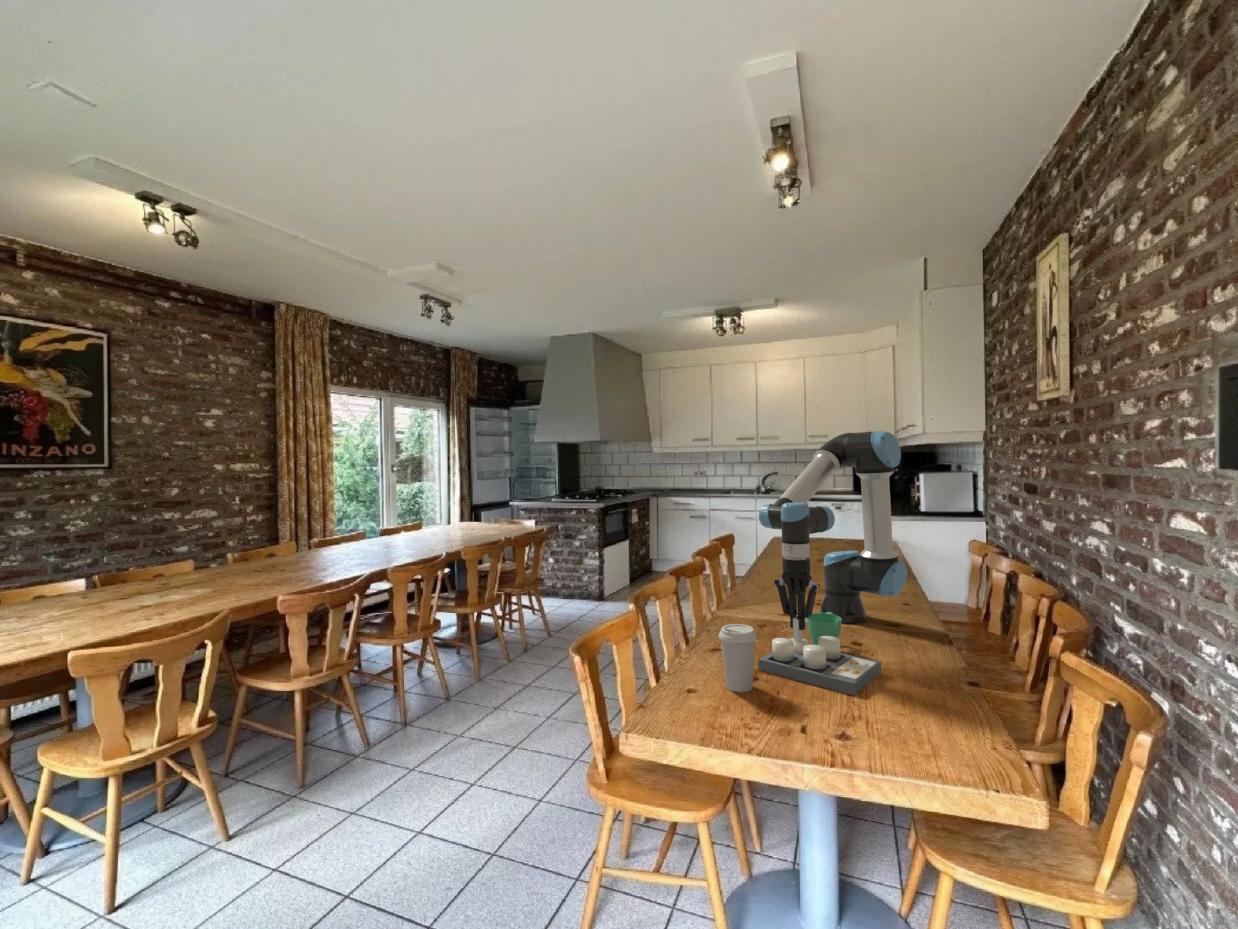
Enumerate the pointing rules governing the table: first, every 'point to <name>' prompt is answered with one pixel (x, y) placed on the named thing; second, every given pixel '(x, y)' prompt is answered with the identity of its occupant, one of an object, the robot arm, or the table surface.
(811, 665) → the button
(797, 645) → the button
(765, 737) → the table surface
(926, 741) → the table surface
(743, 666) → the coffee cup
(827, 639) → the button
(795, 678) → the board
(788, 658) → the button
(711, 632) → the table surface
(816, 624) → the mug
